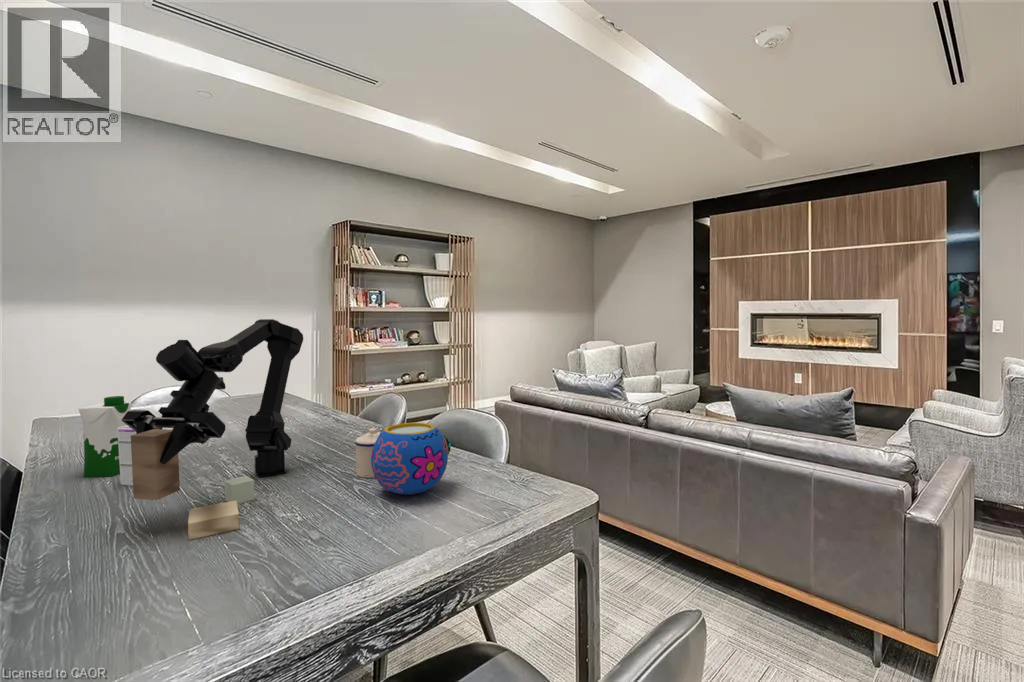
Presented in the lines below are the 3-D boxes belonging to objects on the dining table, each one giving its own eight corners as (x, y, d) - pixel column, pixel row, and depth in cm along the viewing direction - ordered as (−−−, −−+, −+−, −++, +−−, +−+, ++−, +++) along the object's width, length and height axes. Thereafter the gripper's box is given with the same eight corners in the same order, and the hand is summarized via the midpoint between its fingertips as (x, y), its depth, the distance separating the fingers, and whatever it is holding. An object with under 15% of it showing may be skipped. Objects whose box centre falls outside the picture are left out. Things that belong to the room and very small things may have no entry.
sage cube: (247, 494, 108) (246, 475, 108) (254, 499, 105) (253, 479, 105) (225, 500, 104) (224, 480, 104) (232, 505, 101) (231, 485, 101)
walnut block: (157, 488, 93) (154, 429, 92) (179, 490, 92) (177, 429, 91) (133, 498, 88) (130, 435, 87) (157, 500, 87) (154, 436, 86)
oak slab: (236, 514, 97) (236, 500, 96) (239, 528, 90) (238, 513, 90) (189, 523, 92) (189, 508, 92) (188, 539, 86) (188, 523, 85)
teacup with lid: (398, 471, 124) (398, 427, 123) (370, 481, 116) (369, 434, 116) (370, 463, 131) (369, 422, 130) (341, 472, 123) (340, 428, 123)
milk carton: (114, 477, 120) (110, 399, 119) (76, 478, 119) (72, 400, 118) (138, 466, 128) (135, 394, 127) (103, 467, 128) (100, 394, 127)
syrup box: (139, 486, 113) (136, 427, 112) (119, 485, 114) (116, 426, 113) (161, 478, 119) (159, 422, 118) (142, 477, 120) (139, 421, 119)
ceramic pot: (462, 483, 114) (462, 423, 114) (418, 511, 98) (417, 440, 97) (404, 474, 122) (403, 417, 121) (355, 497, 105) (353, 432, 105)
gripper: (254, 416, 103) (218, 483, 93) (177, 414, 105) (134, 479, 95) (226, 386, 95) (184, 456, 85) (144, 385, 97) (93, 452, 87)
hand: (149, 462), depth 88 cm, fingers closed on walnut block, 5 cm apart
